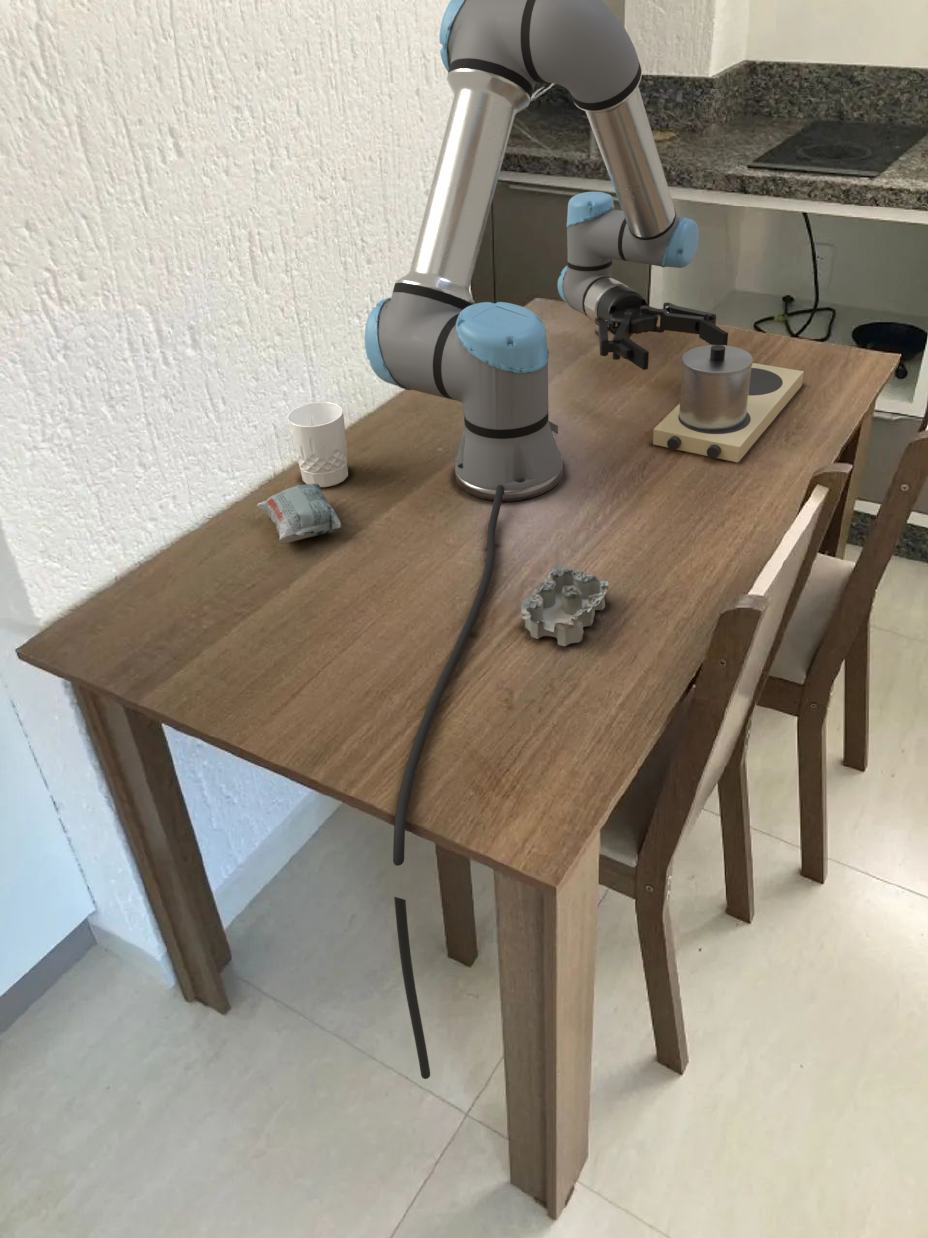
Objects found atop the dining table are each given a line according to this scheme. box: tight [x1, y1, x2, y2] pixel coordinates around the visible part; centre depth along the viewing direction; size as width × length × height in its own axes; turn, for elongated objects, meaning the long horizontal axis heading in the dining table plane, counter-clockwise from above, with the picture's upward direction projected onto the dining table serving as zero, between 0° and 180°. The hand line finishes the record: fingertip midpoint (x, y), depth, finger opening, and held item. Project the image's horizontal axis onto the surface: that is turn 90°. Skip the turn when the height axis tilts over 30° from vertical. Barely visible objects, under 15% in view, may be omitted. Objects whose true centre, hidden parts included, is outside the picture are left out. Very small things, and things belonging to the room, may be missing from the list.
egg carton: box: [520, 562, 610, 647], centre depth 116 cm, size 11×8×4 cm
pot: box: [679, 344, 754, 431], centre depth 146 cm, size 10×10×11 cm
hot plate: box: [652, 362, 805, 464], centre depth 154 cm, size 29×13×2 cm, turn 147°
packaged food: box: [256, 483, 342, 545], centre depth 136 cm, size 9×12×5 cm
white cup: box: [286, 401, 349, 488], centre depth 145 cm, size 8×8×10 cm
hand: (686, 351), depth 151 cm, fingers open, 13 cm apart
